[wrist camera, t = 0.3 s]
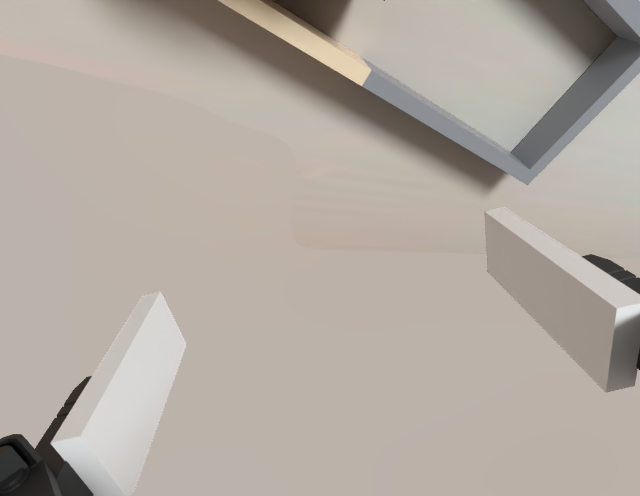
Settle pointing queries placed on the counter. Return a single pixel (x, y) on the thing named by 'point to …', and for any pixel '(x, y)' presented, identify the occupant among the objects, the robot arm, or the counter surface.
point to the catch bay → (522, 163)
